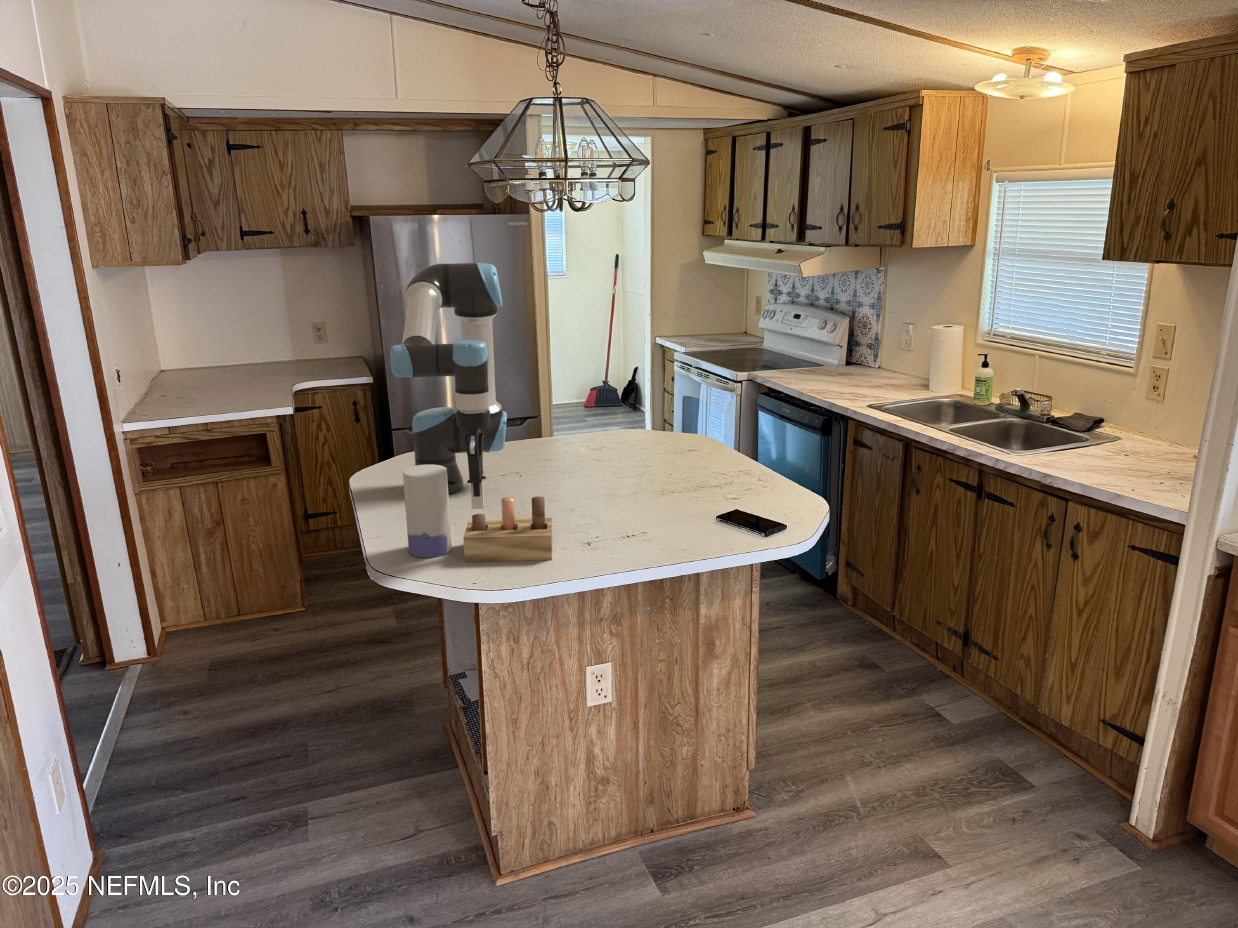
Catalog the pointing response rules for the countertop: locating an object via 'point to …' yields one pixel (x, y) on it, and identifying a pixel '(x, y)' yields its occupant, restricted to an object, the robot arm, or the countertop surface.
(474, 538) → the oak block
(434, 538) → the container
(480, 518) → the walnut peg
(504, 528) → the terracotta peg
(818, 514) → the countertop surface
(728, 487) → the countertop surface
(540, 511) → the walnut peg
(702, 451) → the countertop surface
